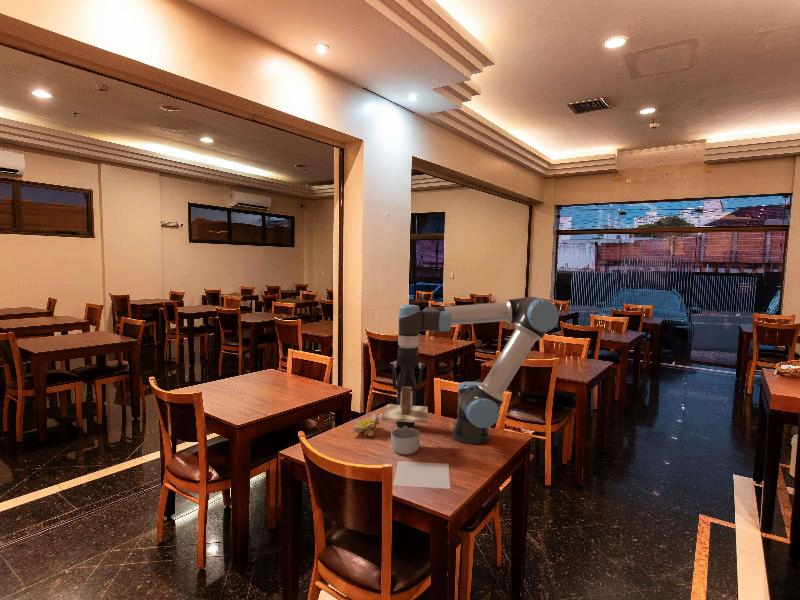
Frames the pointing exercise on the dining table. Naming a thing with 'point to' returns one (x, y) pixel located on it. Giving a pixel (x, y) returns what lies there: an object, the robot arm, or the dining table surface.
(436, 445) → the dining table surface
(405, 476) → the mat
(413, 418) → the board
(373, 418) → the decorative flower
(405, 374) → the cola bottle
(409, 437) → the teacup
